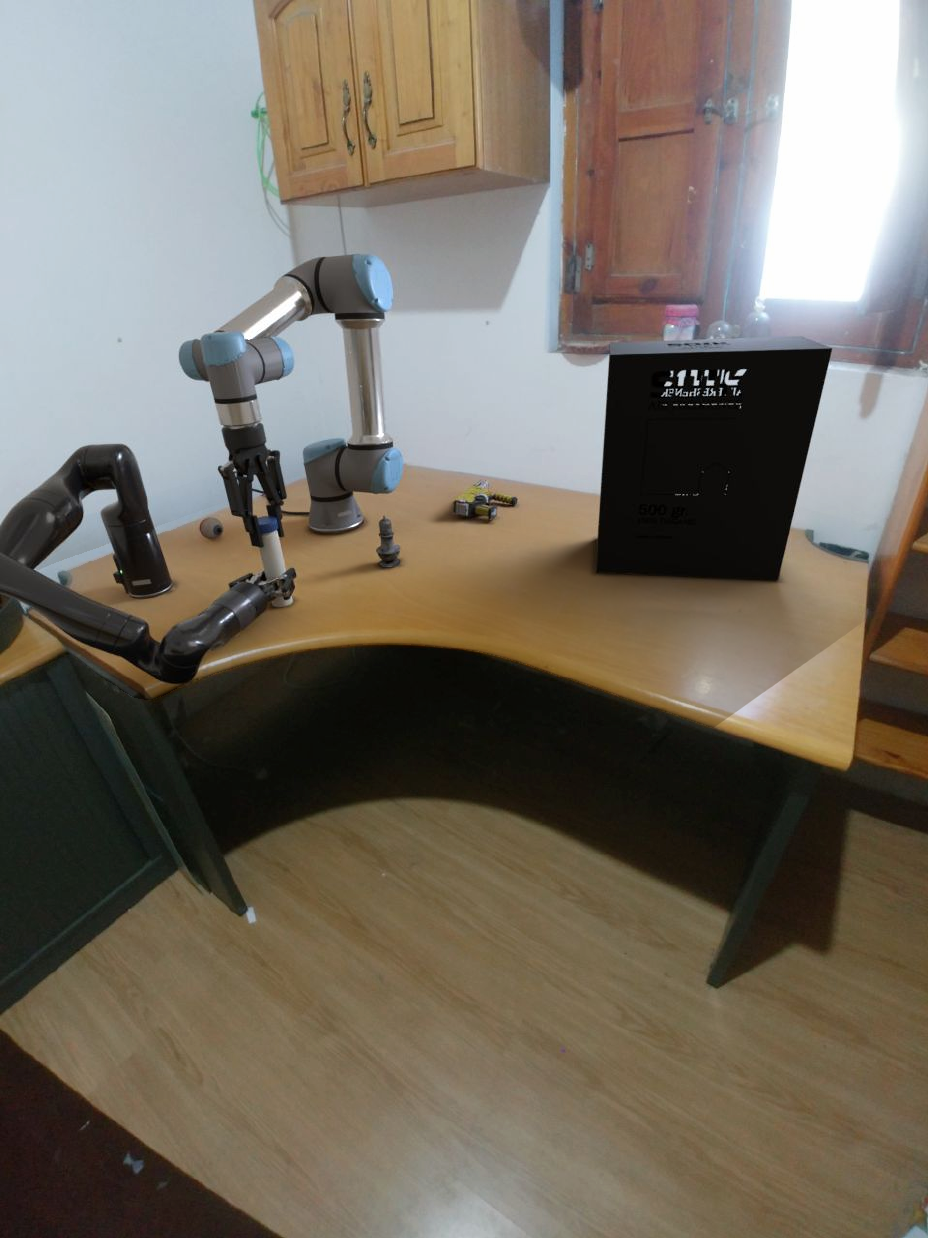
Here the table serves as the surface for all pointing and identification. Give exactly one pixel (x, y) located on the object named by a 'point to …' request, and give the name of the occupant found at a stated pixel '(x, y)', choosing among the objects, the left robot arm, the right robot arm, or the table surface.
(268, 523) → the lid
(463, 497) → the toy gun
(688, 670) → the table surface
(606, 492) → the cardboard box
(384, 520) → the grey upright turned piece
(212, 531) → the eyeball
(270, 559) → the jar
